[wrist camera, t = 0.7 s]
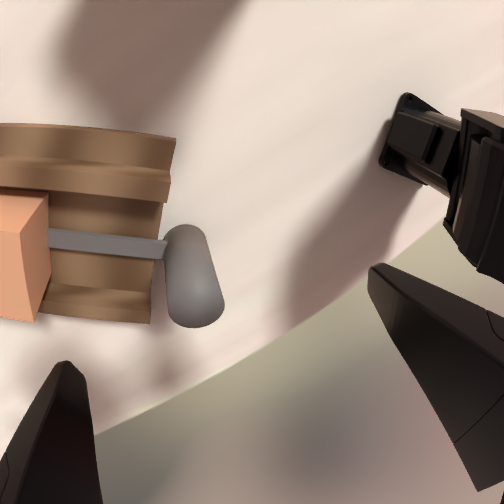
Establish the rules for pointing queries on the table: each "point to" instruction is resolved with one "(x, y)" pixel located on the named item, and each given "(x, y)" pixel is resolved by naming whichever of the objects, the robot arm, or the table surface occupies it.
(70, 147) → the wooden tray
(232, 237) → the table surface
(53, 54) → the table surface
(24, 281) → the tethered block
